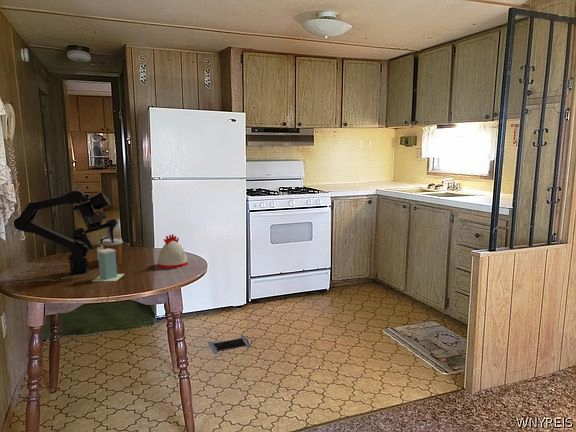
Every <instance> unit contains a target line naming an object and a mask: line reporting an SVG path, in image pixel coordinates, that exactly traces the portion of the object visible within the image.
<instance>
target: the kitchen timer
mask: <svg viewBox="0 0 576 432" xmlns="http://www.w3.org/2000/svg"><path fill="white" fill-rule="evenodd" d="M168 235H169V236H168ZM168 235H166V236H165V238H163V242H164V243H165V244H164V245H163V246H162V247H161V250H160V251H159V253H158V258H157V267H158V268H159V267H160V268H159V269H163V268H175V269H178V268H177V267H181V268H183V267H182V266H184V267H186V266H188V265H189V264H188V263H189V261H188V256H187V254H186V251H185V249H184V247H183V246H182V245H181V244H180V243H179V239H180V237H177V236H176V235H174V234H168ZM185 265H186V266H185Z"/></svg>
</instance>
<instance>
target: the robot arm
mask: <svg viewBox="0 0 576 432" xmlns="http://www.w3.org/2000/svg"><path fill="white" fill-rule="evenodd" d="M72 204H73V205H74V206H73V208H72V211H74V212H77V213H78V212H79V214H80V216H81V219H82V222H83V224H84V225H85V227H86V229H84V228H83V227H79V228H76V229H73V231H72V233H71V237H72V238H70V237H69V236H66V235H63V234H62V233H60V232H57V231H55V230H53V229H50V228H49V227H46V226H44V225H42V224H41V223H39V221H38V220H37V219H36V216H37V213H39V212H38V211H39V210H42V209H47V208H51V207H57V206H60V205H61V206H62V205H72ZM110 205H111V201H110V199H109V197H107V196H106V194H105V193H104V192H103V191H101V192H99V193H98V194H96V195H94V196H92V195H89V194H87V193H86V192H85V191H84V190H83V189H75V190H72V191H70V192H68V193H65V194H62V195H60V196H55V197H51V198H47V199H42V200H36V201H35V200H34V201H31V202H29V203H27V206H26V207H25V208H24V209H23V211H22V212H21V213H20V215H19V216H18V217H17V218H15V219H14V221H13V226H14V228H15V229H16V230H17V231H20V232H24V233H30V234H35V235H37V236H40V237H42V238H44V239H45V240H46V239H47V240H49V241H51V242H52V243H54V244H57V245H59V246H61V247H64V248H65V249H67V250H68V251H69V252H70V253H71V254H70V255H69V256H68V257H67V258H68V260H69V265H70V267H69V268H70V272H68V274H69V275H83V274H85V273H87V272H89V271H90V268H89V261H88V258H87V255H88V254H89V252H90V251H91V250H93V249H94V248H93V244H92V243H91V241H90V240H89V238H88V235H87V234H89V233H94V232H97V231H100V230H104V229H105V230H106V233H107V235H108V237H109V238H110V240H111V242H112V243H113V242H114V239H113V238H114V229H116V227H117V226H118V222H119V221H117V219H116V218H111V219H107V216H106V215H107V214H106V213H105V211H101V210H103V209H105V208H107V207H110ZM96 210H97V211H101V212H99V213H98V214H97V212H95V211H96ZM105 219H107V220H106V221H105V223H103V222H104V220H105Z"/></svg>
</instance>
